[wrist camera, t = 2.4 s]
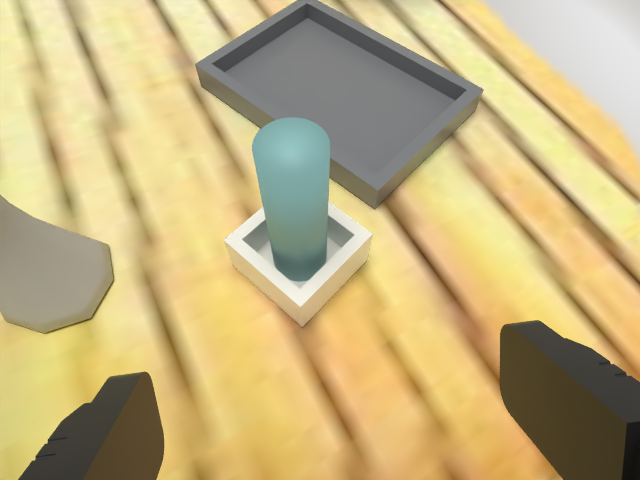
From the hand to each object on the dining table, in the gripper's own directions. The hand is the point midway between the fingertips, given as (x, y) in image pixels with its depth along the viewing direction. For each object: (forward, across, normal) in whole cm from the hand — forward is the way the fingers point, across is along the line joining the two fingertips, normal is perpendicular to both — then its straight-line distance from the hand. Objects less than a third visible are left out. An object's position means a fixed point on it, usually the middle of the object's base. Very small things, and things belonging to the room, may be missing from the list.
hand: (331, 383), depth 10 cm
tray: (+32, -5, -8) cm, 33 cm away
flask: (+21, +16, +3) cm, 27 cm away
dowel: (+20, 0, +3) cm, 20 cm away
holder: (+20, 0, +3) cm, 21 cm away
